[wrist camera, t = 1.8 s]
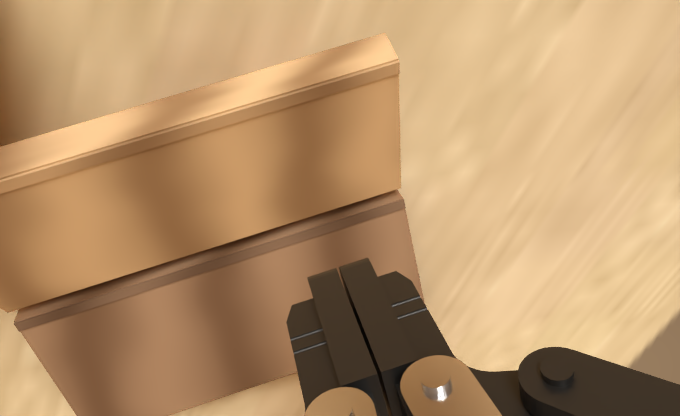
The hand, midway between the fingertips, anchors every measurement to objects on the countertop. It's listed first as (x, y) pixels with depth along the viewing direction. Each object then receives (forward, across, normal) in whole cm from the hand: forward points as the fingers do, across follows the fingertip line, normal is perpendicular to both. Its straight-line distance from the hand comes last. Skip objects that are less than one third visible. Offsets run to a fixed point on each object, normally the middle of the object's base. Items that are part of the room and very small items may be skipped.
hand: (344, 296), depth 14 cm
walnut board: (+16, +5, +12) cm, 21 cm away
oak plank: (+14, +5, +2) cm, 15 cm away
